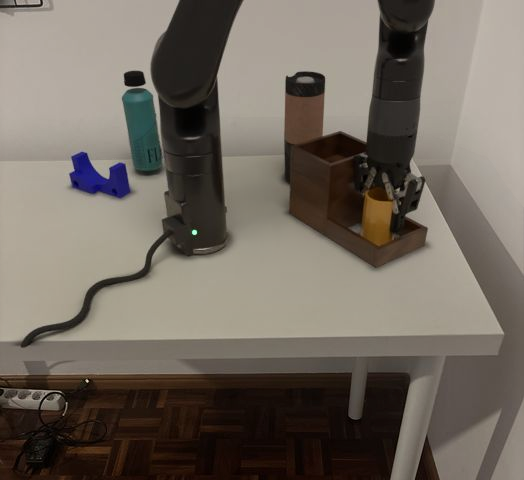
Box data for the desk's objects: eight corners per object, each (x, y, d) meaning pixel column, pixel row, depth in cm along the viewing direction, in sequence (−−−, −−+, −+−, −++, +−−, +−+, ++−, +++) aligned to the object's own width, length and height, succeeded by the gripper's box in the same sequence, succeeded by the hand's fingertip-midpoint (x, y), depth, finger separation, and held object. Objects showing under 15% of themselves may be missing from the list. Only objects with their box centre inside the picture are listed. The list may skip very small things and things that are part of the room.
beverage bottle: (151, 180, 118) (135, 79, 105) (127, 173, 121) (109, 74, 107) (170, 169, 122) (157, 70, 109) (147, 162, 125) (132, 65, 112)
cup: (375, 254, 95) (382, 205, 89) (352, 240, 99) (358, 192, 93) (400, 243, 98) (408, 196, 92) (376, 230, 101) (383, 183, 95)
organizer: (376, 268, 92) (386, 194, 84) (289, 213, 107) (290, 145, 98) (424, 245, 97) (439, 174, 89) (335, 196, 112) (340, 130, 103)
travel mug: (321, 186, 115) (327, 83, 101) (283, 187, 115) (285, 83, 102) (319, 170, 120) (324, 70, 107) (283, 171, 121) (284, 71, 107)
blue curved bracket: (72, 187, 116) (65, 159, 112) (88, 179, 119) (81, 151, 115) (115, 201, 111) (109, 172, 107) (130, 192, 114) (125, 163, 110)
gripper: (342, 118, 88) (337, 215, 99) (410, 144, 79) (396, 248, 90) (377, 107, 91) (368, 202, 102) (446, 131, 82) (428, 233, 93)
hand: (381, 223), depth 96 cm, fingers closed on cup, 6 cm apart
